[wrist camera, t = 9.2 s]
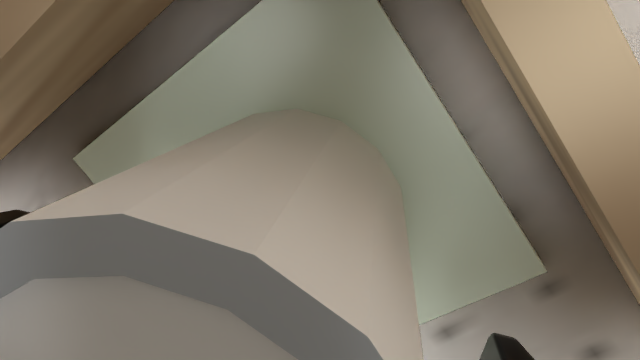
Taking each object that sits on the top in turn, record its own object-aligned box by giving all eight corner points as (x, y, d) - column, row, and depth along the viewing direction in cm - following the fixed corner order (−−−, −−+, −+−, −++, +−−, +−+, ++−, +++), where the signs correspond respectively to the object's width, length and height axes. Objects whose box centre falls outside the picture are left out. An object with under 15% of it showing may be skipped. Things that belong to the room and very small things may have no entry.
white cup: (449, 92, 10) (498, 269, 4) (416, 340, 13) (411, 691, 6) (159, 73, 11) (-178, 182, 5) (184, 303, 14) (-15, 568, 8)
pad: (544, 265, 11) (547, 272, 11) (270, 380, 15) (267, 388, 15) (339, -61, 10) (337, -63, 9) (80, 155, 13) (72, 158, 13)
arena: (764, 415, 12) (915, 603, 8) (244, 545, 19) (202, 681, 15) (379, -288, 8) (345, -508, 5) (-95, 193, 15) (-260, 259, 11)
